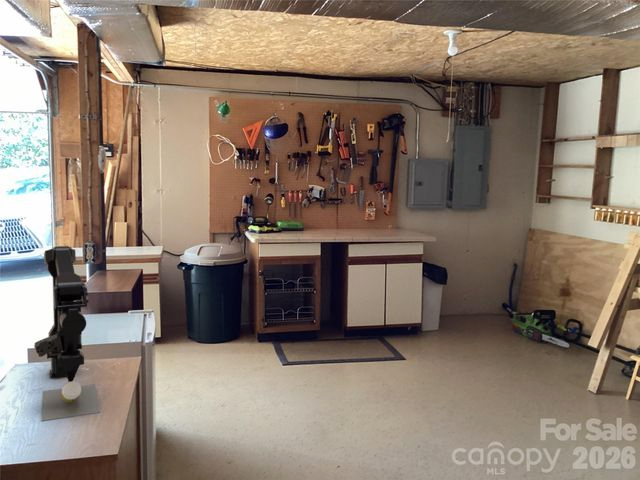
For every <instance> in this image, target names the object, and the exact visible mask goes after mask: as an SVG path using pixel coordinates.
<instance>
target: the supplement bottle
mask: <svg viewBox="0 0 640 480" xmlns="http://www.w3.org/2000/svg"><path fill="white" fill-rule="evenodd" d="M81 386H82V385H80V383H79V382H77V381H74V380H73V381H71V382H69V381H67V383H65V384H64V385H63V386H62V388H61V389H62V392H61V398H62V400H63V401H65V402H67V403H72V402H74V401H76V400H77V399H78V398H79V396H80V393H81Z"/></svg>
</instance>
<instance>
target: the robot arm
mask: <svg viewBox="0 0 640 480" xmlns="http://www.w3.org/2000/svg"><path fill="white" fill-rule="evenodd" d="M43 253H44V254H43V261H44V263H43V264H44V265H46V270H47V272H48V273H49V274H50V275H51V276H50V277H52V303H53V305H52V306H53V307H52V308H53V310H52V311H53V325H52V327H51V328H50V330H49V331H48V336H47V337H45V338H42V339H39V340H38V341H36V342H34V345H33V346H34V349H35V351H36V353H37V355H38V357H39V358H42V357H43V356H46V359H48V360H49V359H50V365H51V366H50V370H49V378H50V379H55V378H65V377H67V382H71V381H74V380H75V377H76V375H77V373H78V370H79V368H80V366H82V365H84V364H85V356H84V355H85V354H84V353H83V351H81V350H83V345H82V335H83V332H84V331H85V329H86V327H87V320H86V318H85V316H84V315H83V313H82V308H87V307H88V303H89V302H90V301H89V292H88V288H87V286H86V284H85V283H83V279H82V277H81V276H80V275H79V274H77V273H75V268H74V264H75V263H76V261H77V259H76V258H77V255H76V249H74V248H72V246H69V245H63V246H61V245H60V246H59V245H58V246H56V245H55V246H53V247H52V248H51V249H47V250H45V251H44V252H43Z"/></svg>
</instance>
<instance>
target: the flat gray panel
mask: <svg viewBox="0 0 640 480" xmlns="http://www.w3.org/2000/svg"><path fill="white" fill-rule="evenodd" d="M80 386H81V393H80V396H79V398H78V399H77V400H76V401H74V402H72V403H67V402H65V401H63V400H62V398H61V392H62V389H63V388H57V389H49V390H43V391H42V399H41V418H40V421H41V422H45V421H46V422H47V421H53V420H59V419H60V420H61V419H65V418H66V419H67V418H73V417H80V416H85V415H87V416H88V415H92V414H93V415H94V414H100V413H101V408H100V401H99V398H98V391H97V387H96V384H87V385H80Z"/></svg>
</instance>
